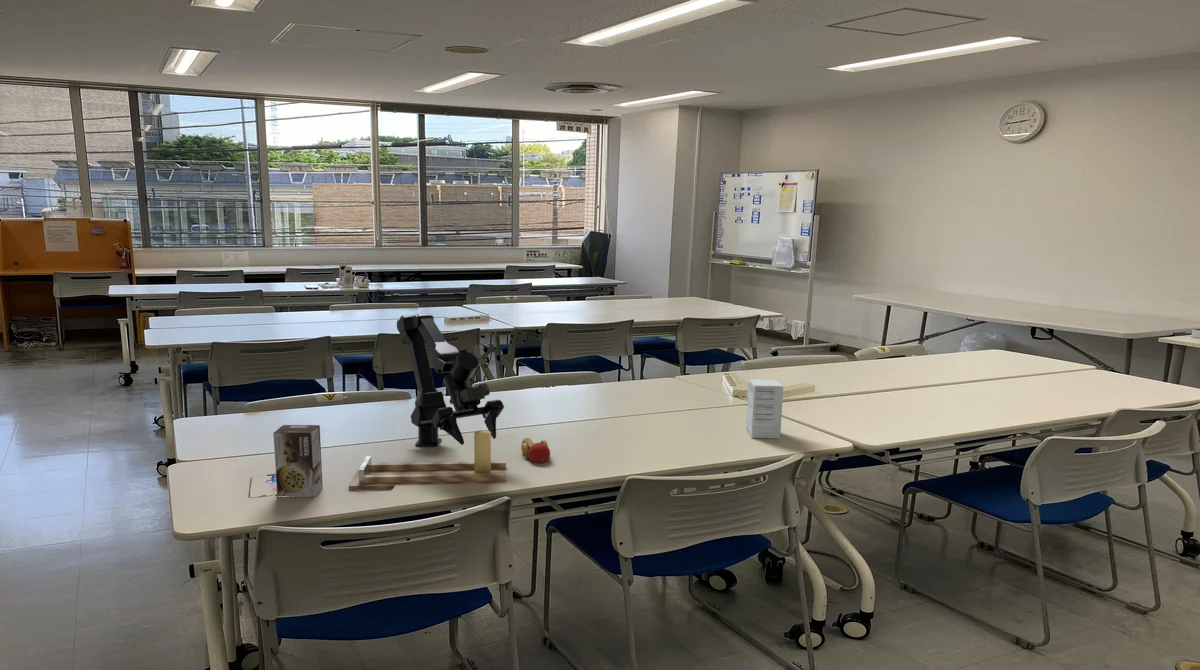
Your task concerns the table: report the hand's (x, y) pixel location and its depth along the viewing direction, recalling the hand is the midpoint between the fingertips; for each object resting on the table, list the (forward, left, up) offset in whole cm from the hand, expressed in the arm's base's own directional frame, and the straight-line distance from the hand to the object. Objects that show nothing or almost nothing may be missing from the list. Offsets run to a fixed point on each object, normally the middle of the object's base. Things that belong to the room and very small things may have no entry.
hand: (479, 441), depth 194 cm
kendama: (-16, +13, -10) cm, 23 cm away
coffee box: (+14, -41, -10) cm, 44 cm away
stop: (+5, -28, -9) cm, 30 cm away
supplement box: (-43, +83, -10) cm, 94 cm away
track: (+3, -12, -9) cm, 15 cm away
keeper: (+1, +1, -8) cm, 9 cm away
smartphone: (+10, -51, -10) cm, 53 cm away
